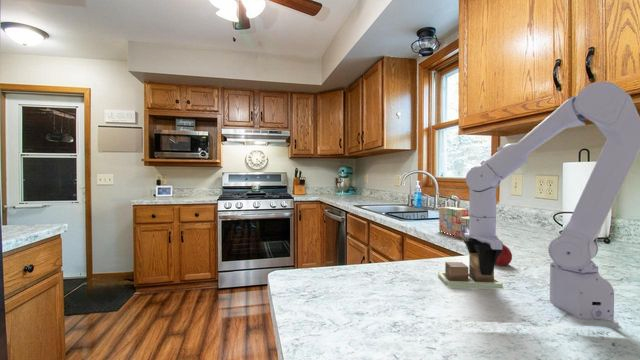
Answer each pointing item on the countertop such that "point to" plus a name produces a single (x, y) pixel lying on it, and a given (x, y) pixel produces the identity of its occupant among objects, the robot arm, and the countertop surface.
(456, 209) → the stack of blocks
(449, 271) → the walnut block
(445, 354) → the countertop surface
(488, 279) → the two tone block
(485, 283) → the base plate
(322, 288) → the countertop surface
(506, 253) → the onion
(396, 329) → the countertop surface
